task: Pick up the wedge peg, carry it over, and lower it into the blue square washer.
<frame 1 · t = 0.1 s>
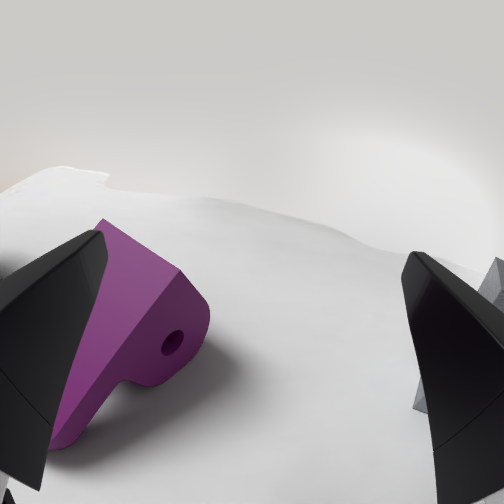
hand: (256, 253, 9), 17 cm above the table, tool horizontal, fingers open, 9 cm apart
wedge peg: (433, 397, 22), on the table
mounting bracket: (96, 376, 23), on the table
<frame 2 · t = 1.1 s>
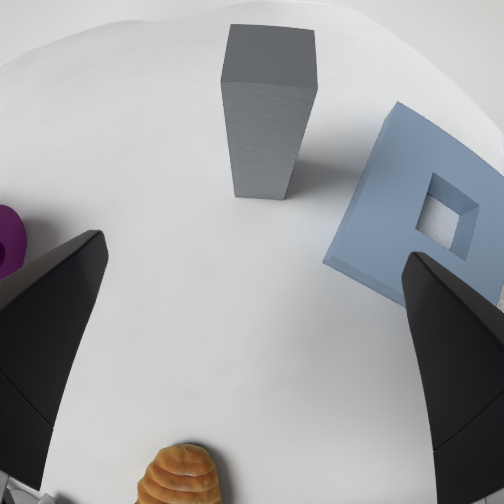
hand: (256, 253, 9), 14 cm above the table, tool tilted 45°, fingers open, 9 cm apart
wedge peg: (260, 176, 23), on the table
blue square washer: (431, 225, 23), on the table
pastry: (180, 490, 20), on the table
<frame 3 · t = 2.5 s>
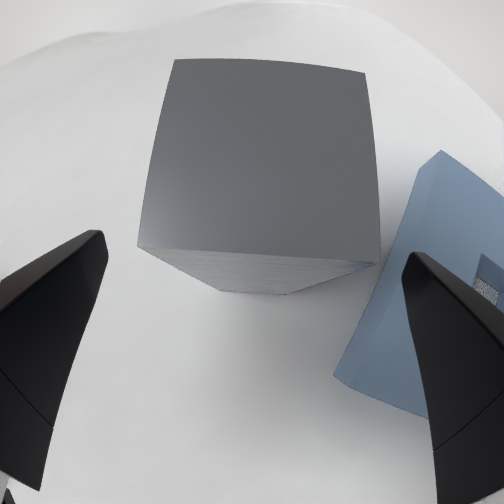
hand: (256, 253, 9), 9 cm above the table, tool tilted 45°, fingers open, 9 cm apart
wedge peg: (254, 260, 18), on the table
blue square washer: (467, 311, 17), on the table
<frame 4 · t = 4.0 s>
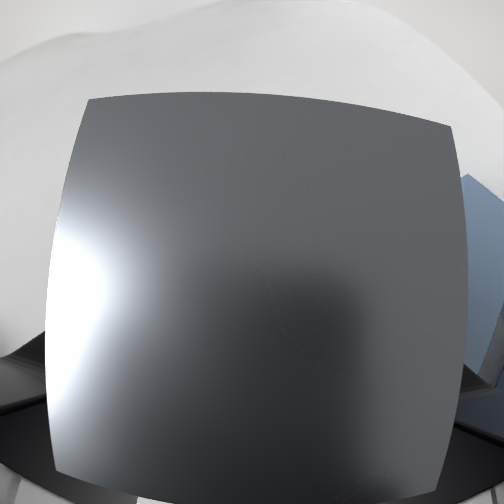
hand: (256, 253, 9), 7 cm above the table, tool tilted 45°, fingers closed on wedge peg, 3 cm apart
wedge peg: (251, 303, 15), on the table, touching gripper
blue square washer: (484, 350, 15), on the table
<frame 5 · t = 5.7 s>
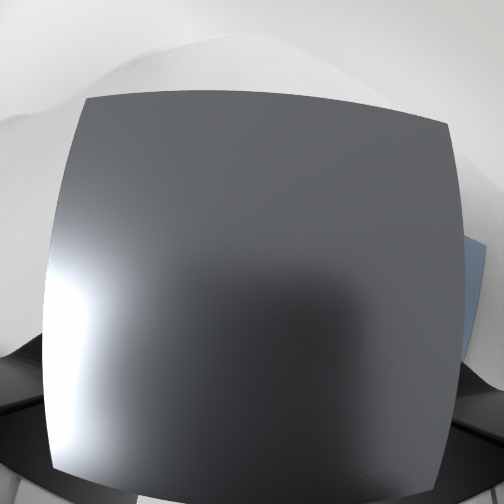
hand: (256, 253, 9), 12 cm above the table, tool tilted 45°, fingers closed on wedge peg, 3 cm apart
wedge peg: (251, 303, 15), point 6 cm above the table, touching gripper
blue square washer: (369, 318, 21), on the table
when the fingers open (7 cm above the table, at t = 7.7 s): wedge peg stays where it is, resting in blue square washer.
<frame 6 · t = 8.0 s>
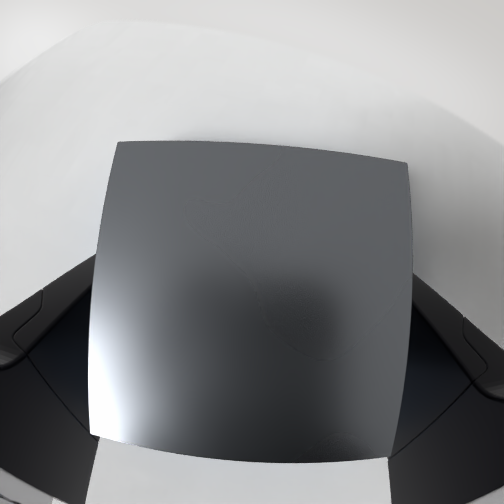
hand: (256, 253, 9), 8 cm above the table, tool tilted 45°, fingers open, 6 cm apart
wedge peg: (251, 303, 16), resting in blue square washer
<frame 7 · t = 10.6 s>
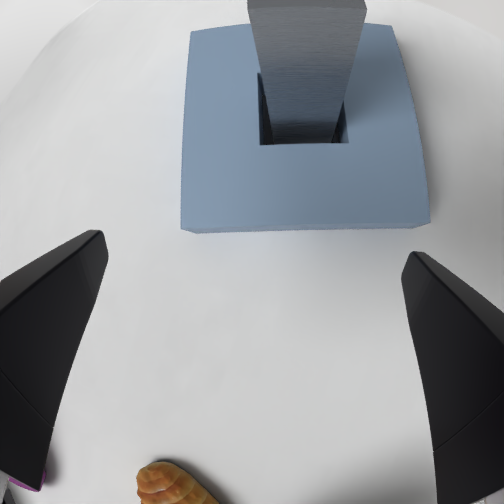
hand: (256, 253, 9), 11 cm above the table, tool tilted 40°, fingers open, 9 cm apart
wedge peg: (300, 125, 20), resting in blue square washer
blue square washer: (300, 125, 20), on the table
pastry: (185, 502, 21), on the table
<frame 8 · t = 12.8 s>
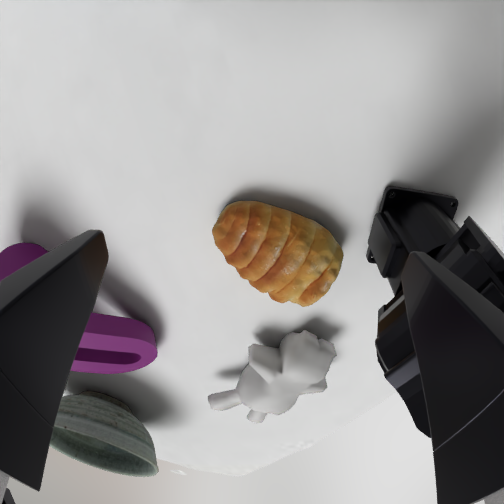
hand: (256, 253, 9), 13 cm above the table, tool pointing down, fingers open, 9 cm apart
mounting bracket: (84, 304, 30), on the table
bunny figurine: (272, 363, 34), on the table
bowl: (108, 403, 44), on the table
pastry: (280, 244, 25), on the table
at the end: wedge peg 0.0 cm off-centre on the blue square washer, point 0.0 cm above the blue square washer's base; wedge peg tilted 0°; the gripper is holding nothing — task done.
